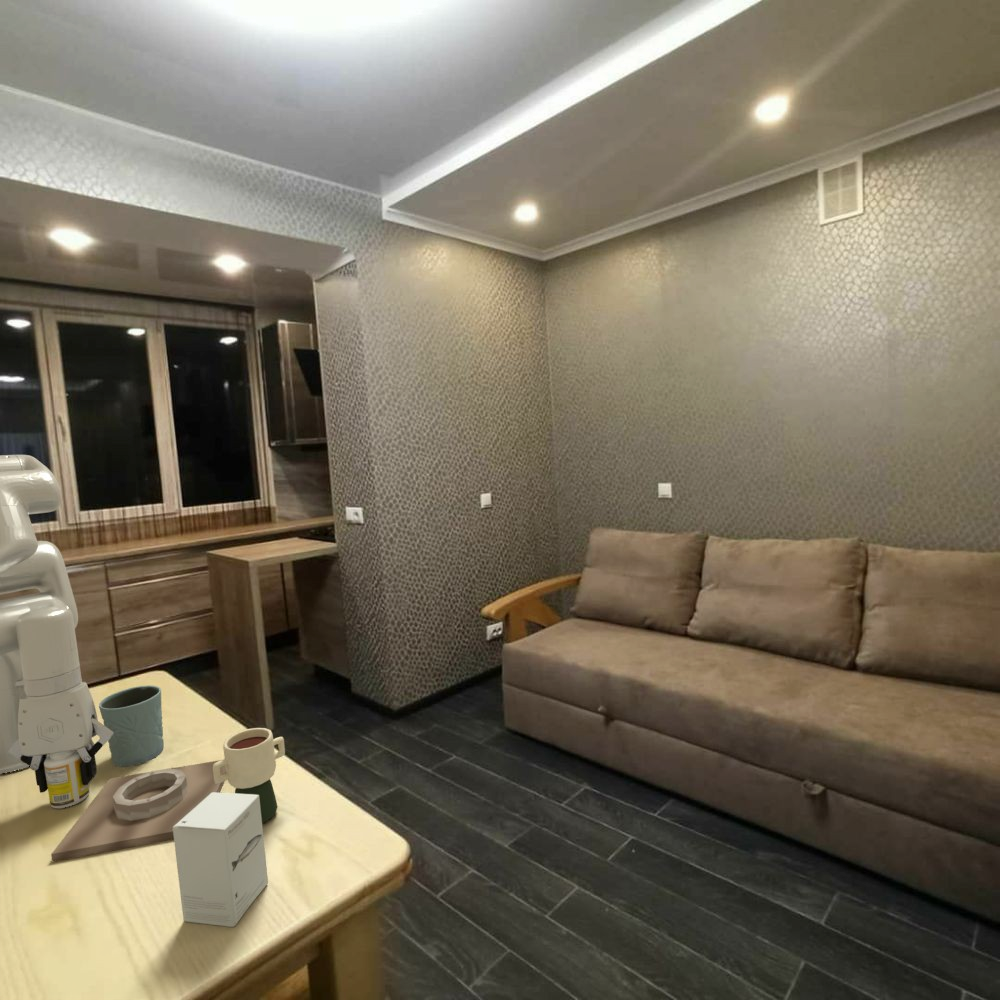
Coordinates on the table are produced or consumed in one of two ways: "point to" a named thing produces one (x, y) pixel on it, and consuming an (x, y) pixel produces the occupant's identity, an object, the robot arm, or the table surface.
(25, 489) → the robot arm
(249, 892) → the supplement box
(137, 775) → the collar board
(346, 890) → the table surface
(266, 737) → the character mug
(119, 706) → the blue-grey plant pot
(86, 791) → the supplement bottle
